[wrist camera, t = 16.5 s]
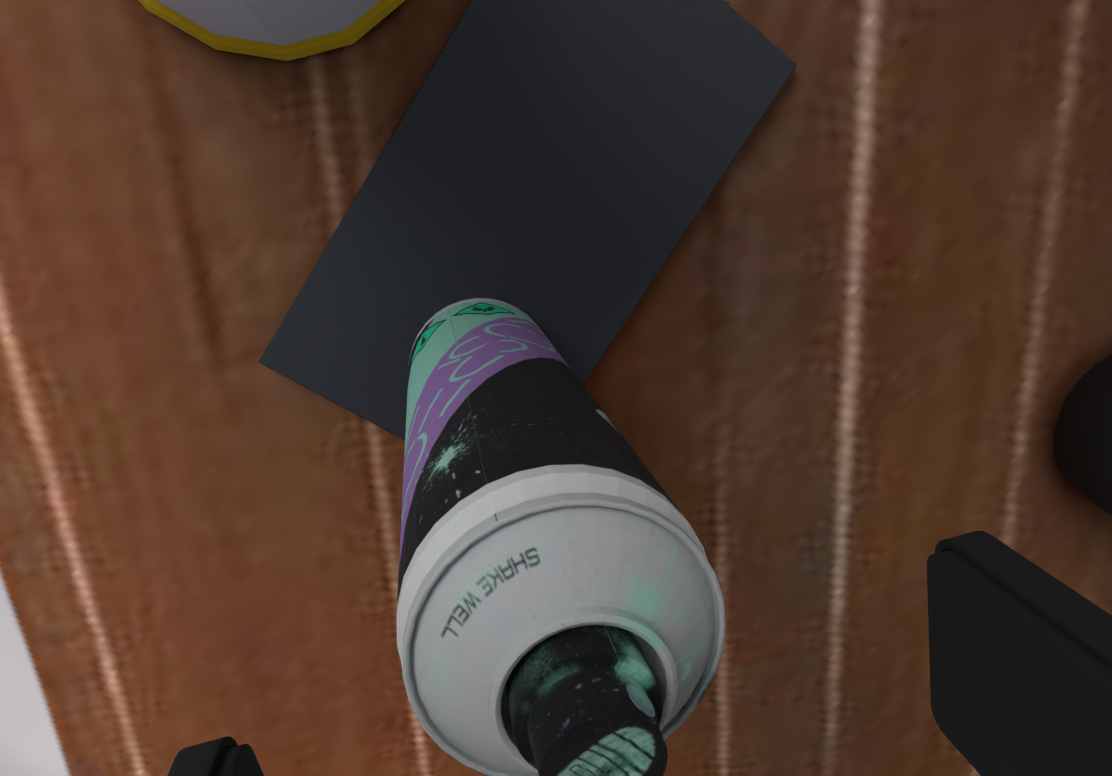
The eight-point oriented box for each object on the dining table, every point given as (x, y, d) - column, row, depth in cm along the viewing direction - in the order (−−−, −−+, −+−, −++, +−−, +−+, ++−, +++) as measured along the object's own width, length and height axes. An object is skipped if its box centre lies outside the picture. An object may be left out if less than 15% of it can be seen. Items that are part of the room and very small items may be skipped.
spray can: (561, 308, 28) (854, 593, 9) (537, 439, 29) (750, 922, 11) (417, 287, 27) (418, 565, 8) (400, 426, 28) (365, 941, 9)
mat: (791, 66, 27) (797, 65, 27) (508, 490, 30) (509, 495, 30) (553, -140, 24) (556, -146, 24) (260, 359, 27) (258, 362, 27)
